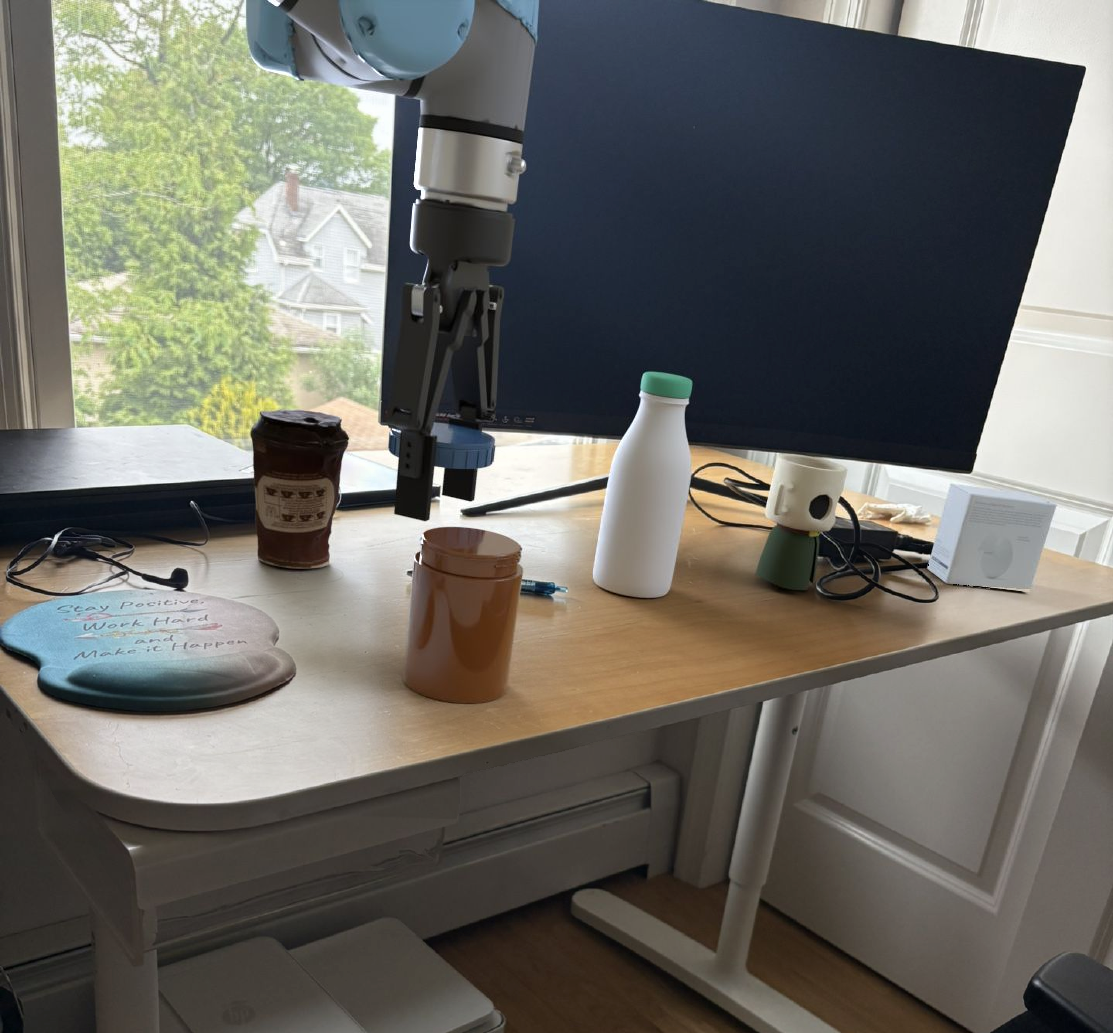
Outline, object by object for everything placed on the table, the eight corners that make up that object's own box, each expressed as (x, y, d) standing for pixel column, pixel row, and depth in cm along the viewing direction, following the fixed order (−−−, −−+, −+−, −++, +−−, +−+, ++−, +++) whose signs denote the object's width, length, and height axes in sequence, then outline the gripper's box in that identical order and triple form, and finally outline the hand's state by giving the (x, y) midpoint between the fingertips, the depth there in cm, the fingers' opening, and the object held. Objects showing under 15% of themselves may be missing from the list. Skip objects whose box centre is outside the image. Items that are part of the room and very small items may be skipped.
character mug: (785, 603, 113) (816, 473, 108) (726, 582, 117) (753, 456, 112) (837, 589, 121) (869, 467, 116) (780, 569, 125) (808, 451, 120)
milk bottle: (673, 604, 108) (715, 387, 99) (592, 593, 107) (628, 374, 99) (665, 580, 115) (704, 376, 106) (589, 570, 114) (623, 363, 106)
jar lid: (468, 474, 86) (470, 449, 86) (369, 453, 88) (371, 428, 88) (508, 459, 94) (511, 436, 93) (416, 439, 96) (418, 416, 95)
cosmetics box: (1006, 578, 137) (1034, 492, 133) (1030, 594, 131) (1060, 505, 127) (924, 567, 136) (949, 480, 132) (944, 584, 130) (971, 493, 126)
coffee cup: (345, 579, 100) (355, 430, 95) (247, 573, 98) (252, 420, 92) (335, 550, 108) (345, 410, 102) (245, 544, 105) (249, 400, 100)
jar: (406, 700, 78) (420, 551, 74) (399, 659, 85) (412, 520, 81) (514, 706, 80) (534, 561, 76) (499, 665, 87) (517, 530, 82)
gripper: (453, 201, 73) (421, 542, 83) (559, 216, 92) (524, 494, 101) (349, 184, 75) (330, 521, 85) (474, 203, 93) (447, 477, 103)
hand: (435, 506), depth 93 cm, fingers closed on jar lid, 8 cm apart
